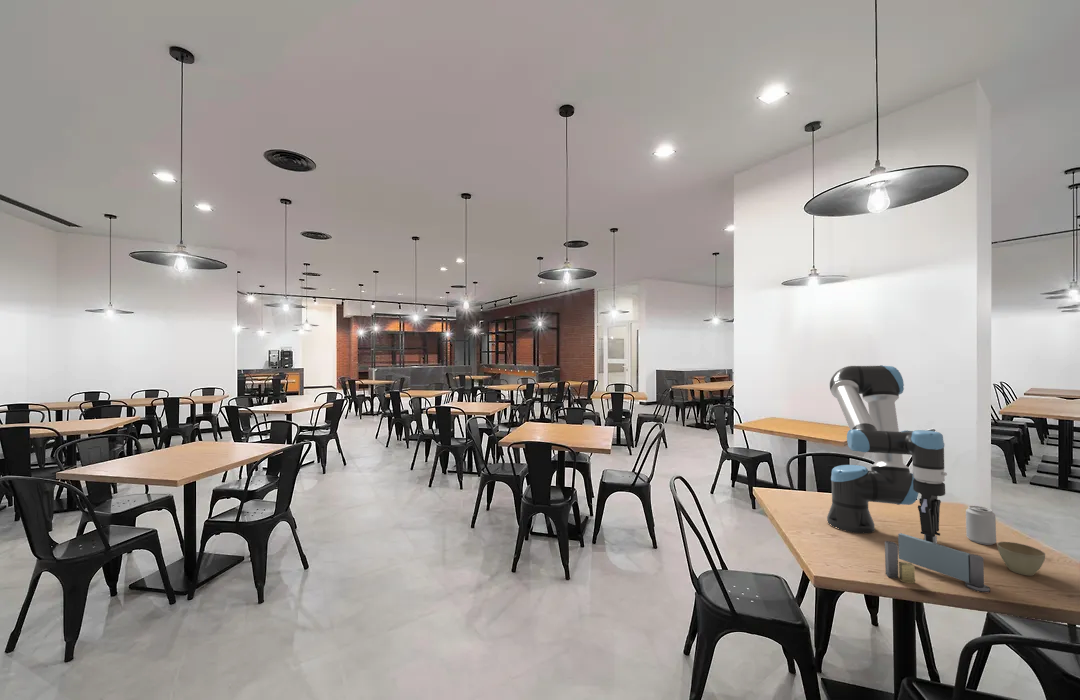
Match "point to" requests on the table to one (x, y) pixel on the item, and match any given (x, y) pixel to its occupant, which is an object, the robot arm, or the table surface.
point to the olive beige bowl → (1021, 557)
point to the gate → (942, 559)
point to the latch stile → (892, 564)
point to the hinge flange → (980, 589)
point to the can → (981, 525)
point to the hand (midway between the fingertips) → (931, 555)
